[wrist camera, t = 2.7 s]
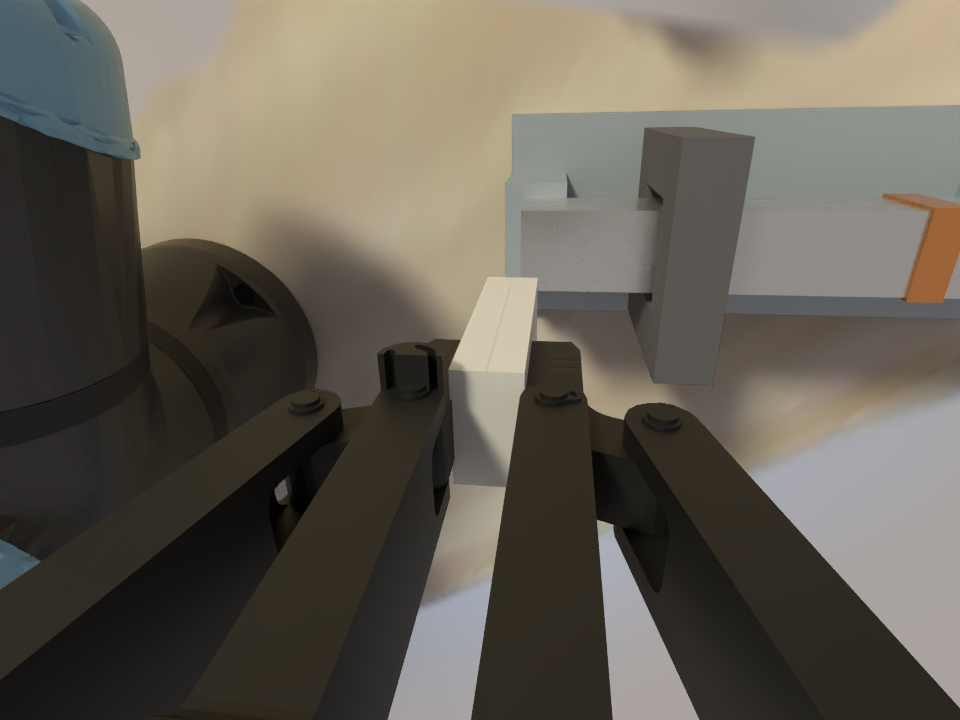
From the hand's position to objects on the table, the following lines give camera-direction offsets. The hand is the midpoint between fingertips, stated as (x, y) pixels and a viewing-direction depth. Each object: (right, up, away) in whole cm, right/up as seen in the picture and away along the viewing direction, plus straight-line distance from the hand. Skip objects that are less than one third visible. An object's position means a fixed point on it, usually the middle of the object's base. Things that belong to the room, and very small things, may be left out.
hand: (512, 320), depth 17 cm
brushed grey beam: (+13, +5, +10) cm, 17 cm away
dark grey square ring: (+9, +6, +13) cm, 17 cm away
